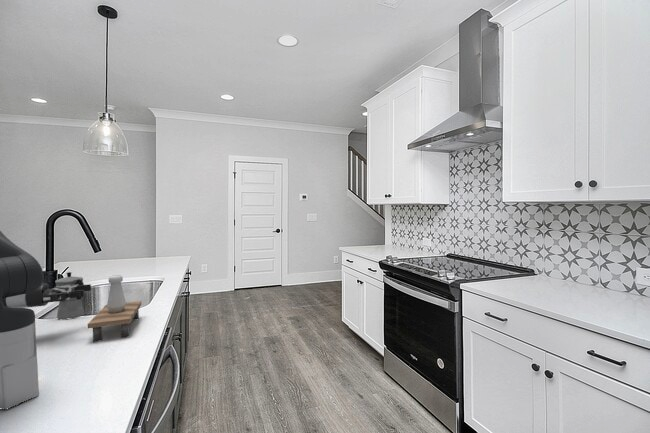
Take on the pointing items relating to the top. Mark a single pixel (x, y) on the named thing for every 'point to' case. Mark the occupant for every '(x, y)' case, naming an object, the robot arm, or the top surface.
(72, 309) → the coffeepot
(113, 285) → the salt shaker
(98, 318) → the slatted wooden bench
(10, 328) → the robot arm
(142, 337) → the top surface
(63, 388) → the top surface
